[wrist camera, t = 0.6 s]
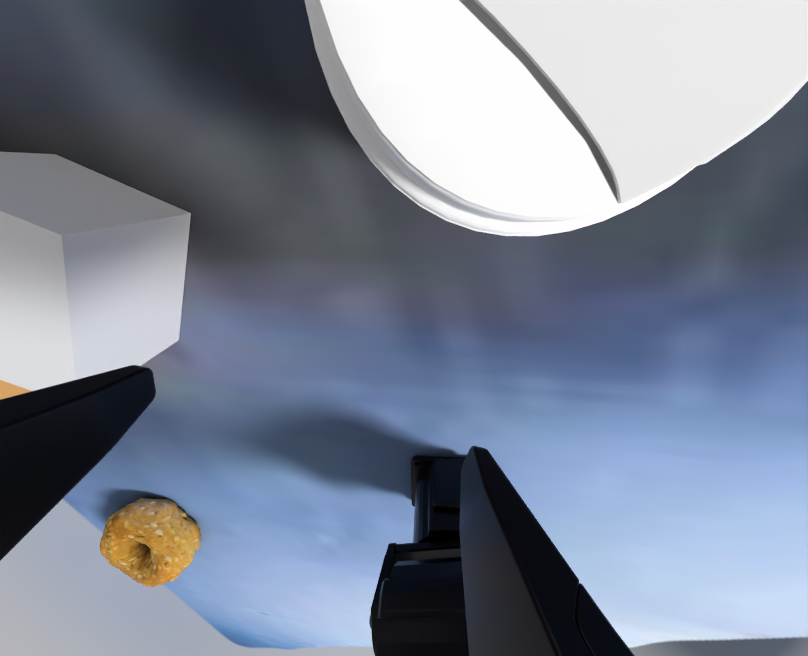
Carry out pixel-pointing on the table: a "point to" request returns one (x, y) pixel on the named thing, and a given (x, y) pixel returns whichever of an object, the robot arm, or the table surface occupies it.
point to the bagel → (150, 540)
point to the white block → (83, 272)
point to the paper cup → (553, 97)
